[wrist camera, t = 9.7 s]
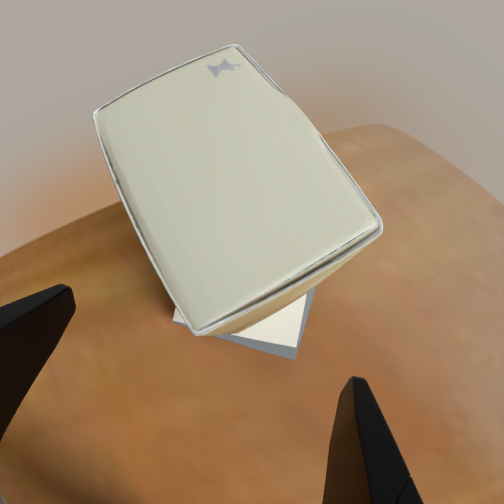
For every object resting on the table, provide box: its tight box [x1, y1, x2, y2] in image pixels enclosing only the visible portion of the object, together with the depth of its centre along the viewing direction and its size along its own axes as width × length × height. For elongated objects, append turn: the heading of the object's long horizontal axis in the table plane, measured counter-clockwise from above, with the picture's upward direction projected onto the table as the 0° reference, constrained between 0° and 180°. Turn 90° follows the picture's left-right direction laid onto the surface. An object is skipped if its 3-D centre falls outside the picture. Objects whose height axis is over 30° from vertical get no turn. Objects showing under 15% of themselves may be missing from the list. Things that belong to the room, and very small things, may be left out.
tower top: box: [173, 293, 307, 347], centre depth 19 cm, size 7×7×2 cm
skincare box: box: [93, 44, 383, 336], centre depth 12 cm, size 6×4×12 cm
